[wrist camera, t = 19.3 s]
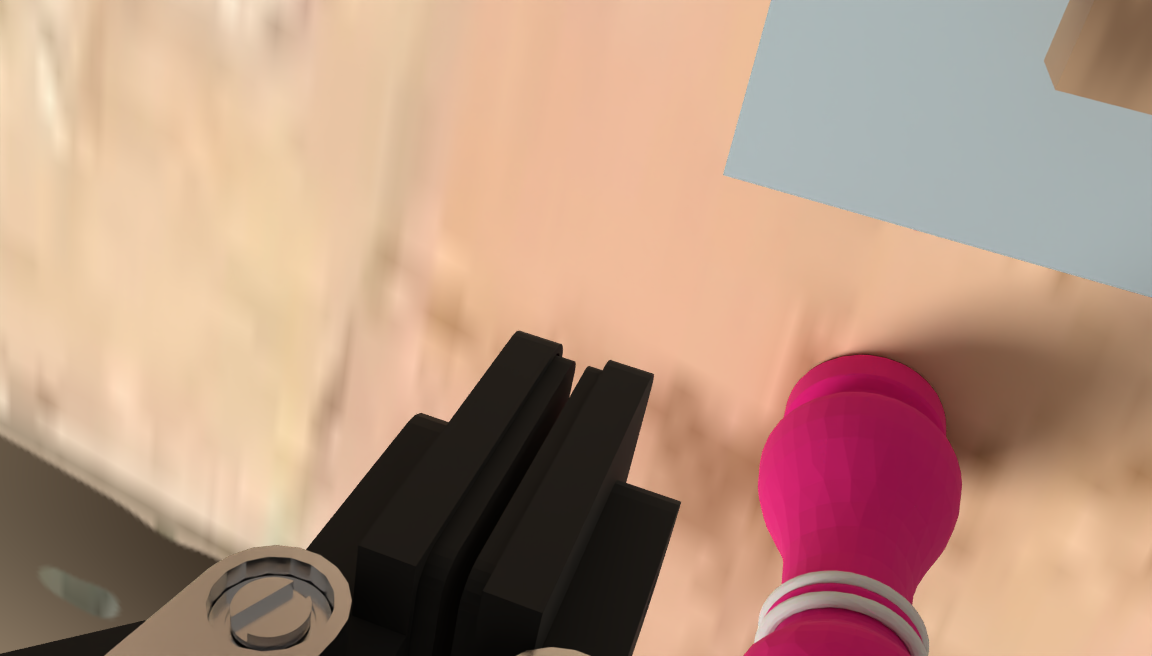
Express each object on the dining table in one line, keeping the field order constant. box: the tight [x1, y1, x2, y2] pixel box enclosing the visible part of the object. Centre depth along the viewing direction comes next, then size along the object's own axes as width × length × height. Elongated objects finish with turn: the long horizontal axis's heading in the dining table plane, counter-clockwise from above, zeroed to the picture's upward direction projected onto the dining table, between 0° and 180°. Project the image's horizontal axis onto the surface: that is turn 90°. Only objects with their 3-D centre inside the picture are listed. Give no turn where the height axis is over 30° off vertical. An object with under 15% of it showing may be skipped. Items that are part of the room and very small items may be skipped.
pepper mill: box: [744, 355, 962, 656], centre depth 33 cm, size 7×7×20 cm
